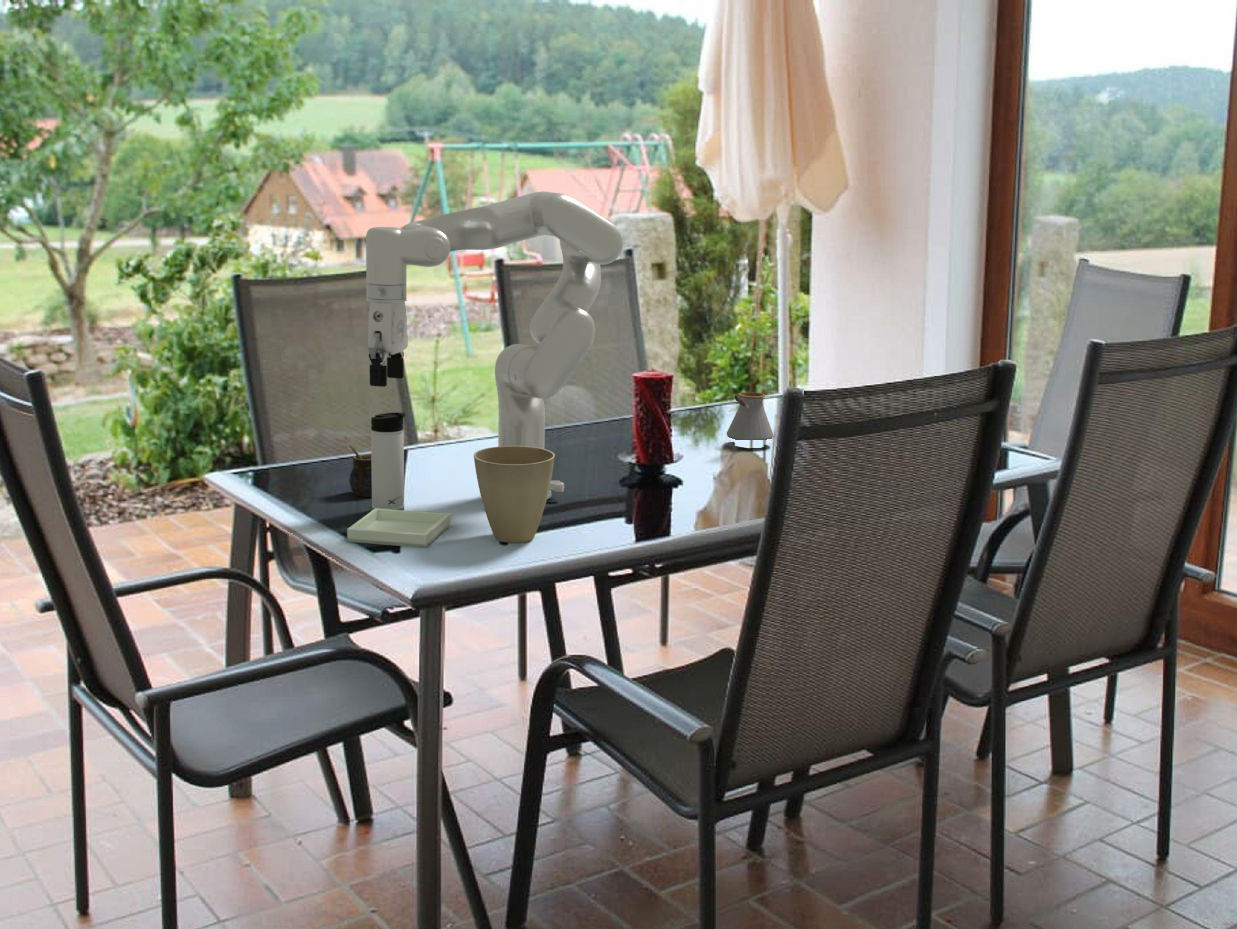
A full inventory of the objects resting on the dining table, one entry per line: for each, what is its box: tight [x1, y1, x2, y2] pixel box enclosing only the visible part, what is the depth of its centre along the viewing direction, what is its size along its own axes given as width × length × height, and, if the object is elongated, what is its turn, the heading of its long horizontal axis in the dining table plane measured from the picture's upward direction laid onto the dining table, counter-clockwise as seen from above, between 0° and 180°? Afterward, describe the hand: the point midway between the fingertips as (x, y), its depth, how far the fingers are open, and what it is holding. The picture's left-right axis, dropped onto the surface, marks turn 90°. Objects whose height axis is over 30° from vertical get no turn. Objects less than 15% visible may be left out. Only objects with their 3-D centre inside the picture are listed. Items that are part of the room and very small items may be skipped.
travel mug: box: [370, 412, 406, 511], centre depth 273 cm, size 6×7×20 cm
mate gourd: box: [348, 445, 372, 498], centre depth 287 cm, size 7×8×10 cm
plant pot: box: [473, 446, 556, 544], centre depth 258 cm, size 15×15×16 cm
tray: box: [346, 508, 452, 549], centre depth 260 cm, size 15×15×2 cm
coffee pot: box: [726, 391, 774, 440], centre depth 337 cm, size 21×12×15 cm, turn 159°
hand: (387, 381), depth 269 cm, fingers open, 9 cm apart
